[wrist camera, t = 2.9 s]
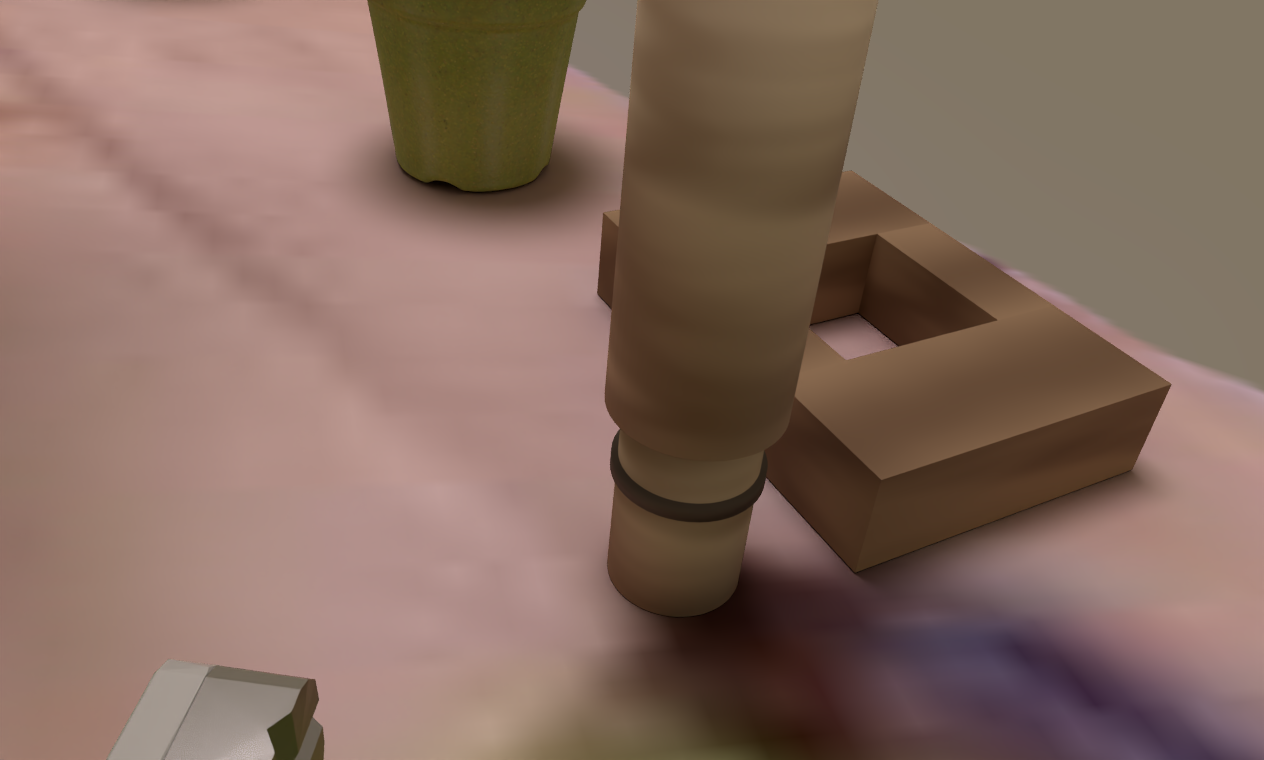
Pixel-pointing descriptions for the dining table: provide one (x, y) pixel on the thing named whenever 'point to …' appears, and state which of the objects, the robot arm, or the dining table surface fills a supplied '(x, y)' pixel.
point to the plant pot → (474, 85)
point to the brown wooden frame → (940, 390)
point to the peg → (718, 272)
